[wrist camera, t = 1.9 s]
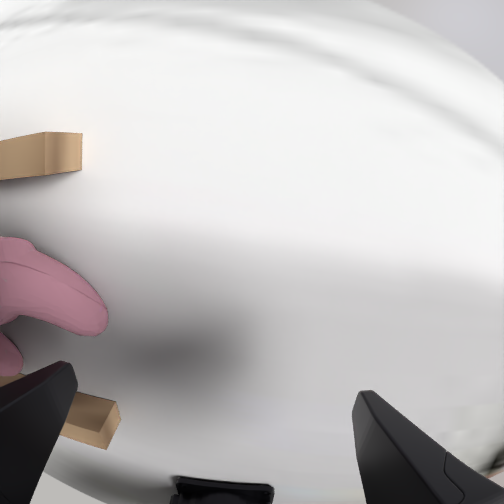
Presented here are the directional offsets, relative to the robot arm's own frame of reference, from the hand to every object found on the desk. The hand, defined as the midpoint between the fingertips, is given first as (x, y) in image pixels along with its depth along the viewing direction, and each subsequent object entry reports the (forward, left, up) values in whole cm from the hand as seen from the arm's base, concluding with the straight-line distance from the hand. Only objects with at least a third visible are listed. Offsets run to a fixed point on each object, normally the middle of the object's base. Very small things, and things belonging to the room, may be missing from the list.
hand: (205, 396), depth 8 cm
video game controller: (+10, 0, -5) cm, 11 cm away
